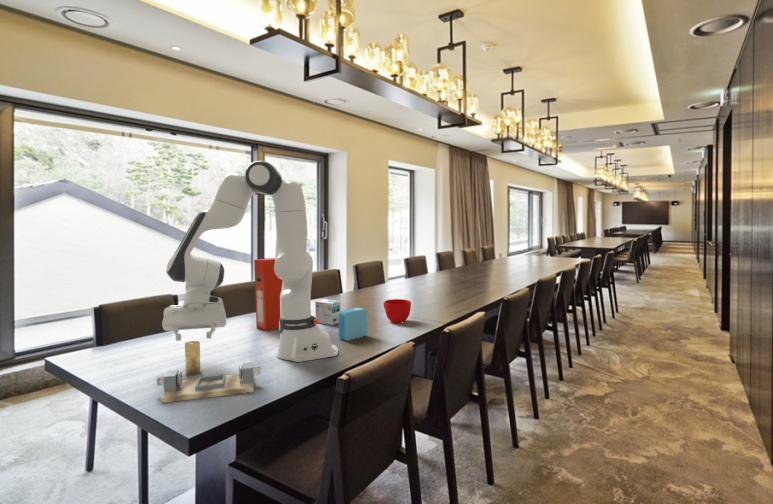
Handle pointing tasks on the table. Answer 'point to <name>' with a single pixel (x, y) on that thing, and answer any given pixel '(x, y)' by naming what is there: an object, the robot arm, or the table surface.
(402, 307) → the ceramic cup
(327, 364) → the table surface
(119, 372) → the table surface
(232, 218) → the robot arm
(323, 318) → the light bulb box
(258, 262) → the file binder
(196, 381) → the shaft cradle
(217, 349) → the table surface
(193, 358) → the cylinder
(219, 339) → the table surface
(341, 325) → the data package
